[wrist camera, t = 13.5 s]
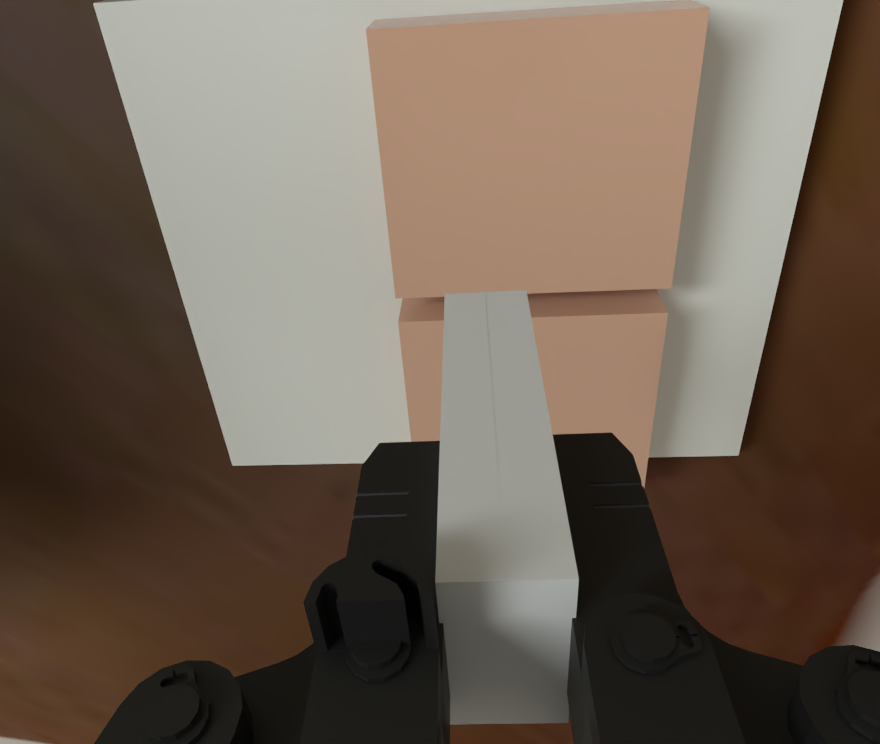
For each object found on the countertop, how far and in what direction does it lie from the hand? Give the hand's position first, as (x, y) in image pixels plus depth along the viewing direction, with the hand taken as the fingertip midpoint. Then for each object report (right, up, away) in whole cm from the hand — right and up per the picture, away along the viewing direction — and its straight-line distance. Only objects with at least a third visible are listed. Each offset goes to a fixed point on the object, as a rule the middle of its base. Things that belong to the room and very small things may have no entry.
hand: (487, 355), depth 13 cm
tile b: (-3, +7, +11) cm, 13 cm away
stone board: (0, +4, +15) cm, 16 cm away
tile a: (-2, -2, +16) cm, 16 cm away
